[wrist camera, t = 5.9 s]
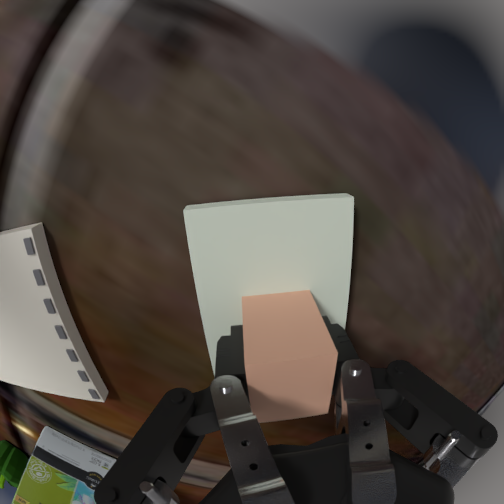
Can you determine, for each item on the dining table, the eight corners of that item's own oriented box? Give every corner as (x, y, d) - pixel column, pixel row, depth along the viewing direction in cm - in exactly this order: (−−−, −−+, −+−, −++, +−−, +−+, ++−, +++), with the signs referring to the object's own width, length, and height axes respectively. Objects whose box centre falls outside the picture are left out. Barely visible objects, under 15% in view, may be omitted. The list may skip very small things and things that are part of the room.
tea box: (42, 421, 22) (5, 515, 8) (119, 457, 24) (98, 560, 10) (53, 460, 26) (31, 528, 12) (110, 485, 28) (96, 557, 14)
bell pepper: (4, 433, 25) (-15, 473, 15) (40, 462, 27) (25, 502, 18) (-6, 435, 26) (-23, 470, 17) (25, 461, 29) (12, 496, 19)
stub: (221, 394, 19) (220, 464, 13) (186, 205, 14) (153, 250, 8) (331, 381, 19) (354, 447, 13) (346, 193, 14) (409, 228, 8)
